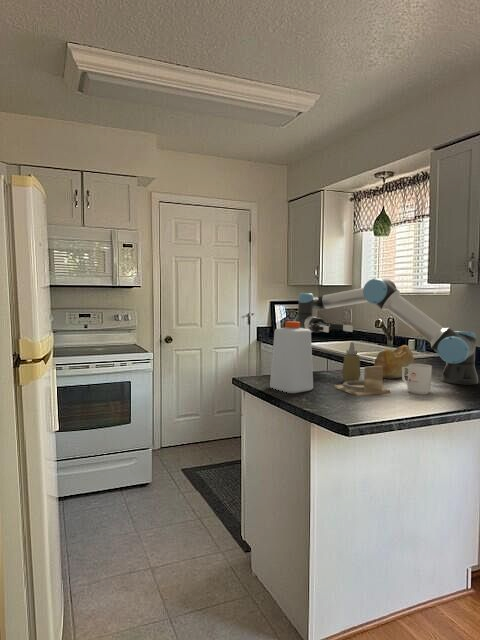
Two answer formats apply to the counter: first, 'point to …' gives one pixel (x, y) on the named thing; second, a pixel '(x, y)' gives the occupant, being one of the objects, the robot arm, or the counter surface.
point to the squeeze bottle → (351, 365)
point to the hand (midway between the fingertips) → (340, 329)
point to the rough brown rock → (394, 361)
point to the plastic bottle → (292, 359)
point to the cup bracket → (366, 383)
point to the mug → (418, 378)
